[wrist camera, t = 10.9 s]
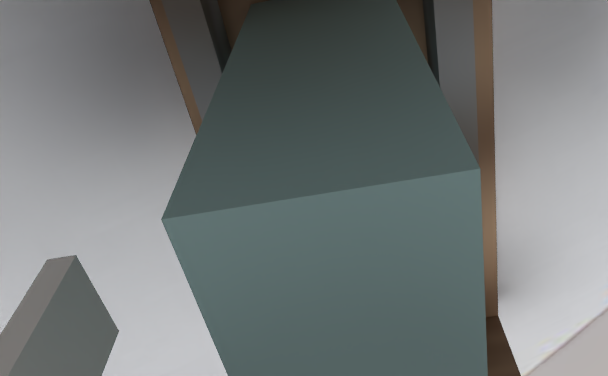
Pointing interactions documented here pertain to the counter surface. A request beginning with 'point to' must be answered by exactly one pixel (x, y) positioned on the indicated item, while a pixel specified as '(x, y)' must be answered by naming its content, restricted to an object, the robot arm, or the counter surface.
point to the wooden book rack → (441, 59)
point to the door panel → (333, 203)
